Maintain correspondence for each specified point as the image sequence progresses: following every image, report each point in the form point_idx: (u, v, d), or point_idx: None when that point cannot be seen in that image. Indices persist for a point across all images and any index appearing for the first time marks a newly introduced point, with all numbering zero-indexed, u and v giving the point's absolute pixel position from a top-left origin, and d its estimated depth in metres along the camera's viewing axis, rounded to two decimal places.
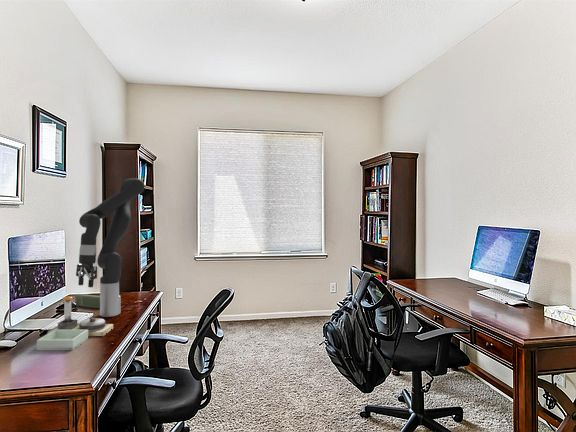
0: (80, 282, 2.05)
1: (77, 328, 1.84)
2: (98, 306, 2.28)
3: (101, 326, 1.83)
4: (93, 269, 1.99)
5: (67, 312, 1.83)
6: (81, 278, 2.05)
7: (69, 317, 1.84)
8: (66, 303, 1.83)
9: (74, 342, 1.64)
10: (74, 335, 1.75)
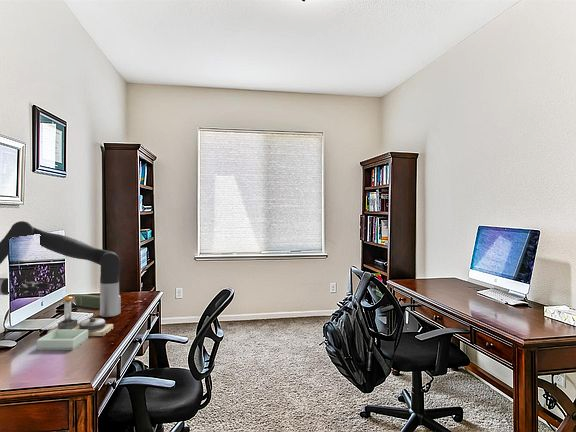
0: (44, 286, 1.87)
1: (77, 328, 1.84)
2: (98, 306, 2.28)
3: (101, 326, 1.83)
4: None
5: (67, 312, 1.83)
6: (39, 285, 1.87)
7: (69, 317, 1.84)
8: (66, 303, 1.83)
9: (74, 342, 1.64)
10: (74, 335, 1.75)
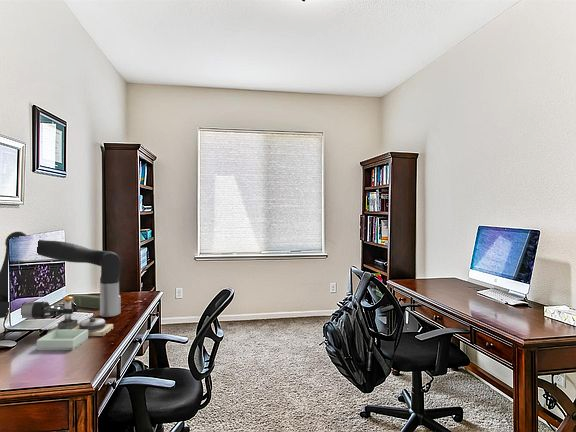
0: (72, 310, 1.86)
1: (77, 328, 1.84)
2: (97, 306, 2.27)
3: (101, 326, 1.83)
4: (48, 315, 1.78)
5: None
6: None
7: (69, 317, 1.84)
8: (66, 303, 1.83)
9: (74, 342, 1.64)
10: (74, 335, 1.75)
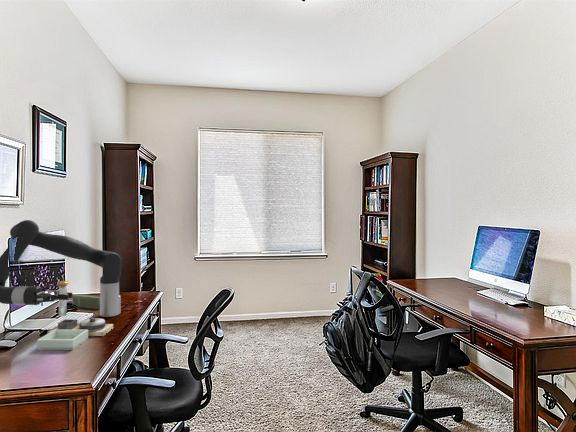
0: None
1: (77, 328, 1.84)
2: (96, 307, 2.26)
3: (101, 326, 1.83)
4: (41, 301, 1.63)
5: None
6: None
7: (64, 303, 1.68)
8: (61, 288, 1.67)
9: (74, 342, 1.64)
10: (74, 335, 1.75)
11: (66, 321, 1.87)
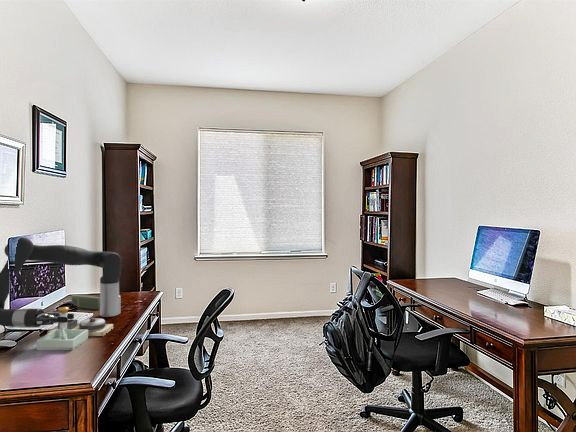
0: (69, 317, 1.71)
1: (77, 328, 1.84)
2: (95, 307, 2.26)
3: (101, 326, 1.83)
4: (40, 324, 1.62)
5: (62, 324, 1.68)
6: None
7: (65, 329, 1.68)
8: (62, 314, 1.68)
9: (74, 342, 1.64)
10: (74, 335, 1.75)
11: None
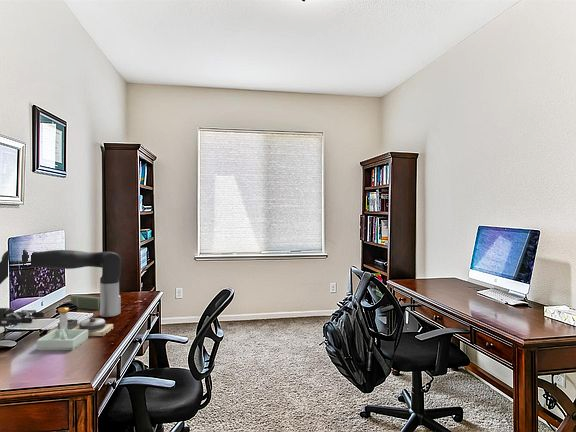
0: (39, 316, 1.72)
1: (77, 328, 1.84)
2: (95, 307, 2.26)
3: (101, 326, 1.83)
4: (4, 323, 1.61)
5: (62, 324, 1.67)
6: (34, 315, 1.72)
7: (65, 330, 1.68)
8: (62, 315, 1.67)
9: (74, 342, 1.64)
10: (74, 335, 1.75)
11: None
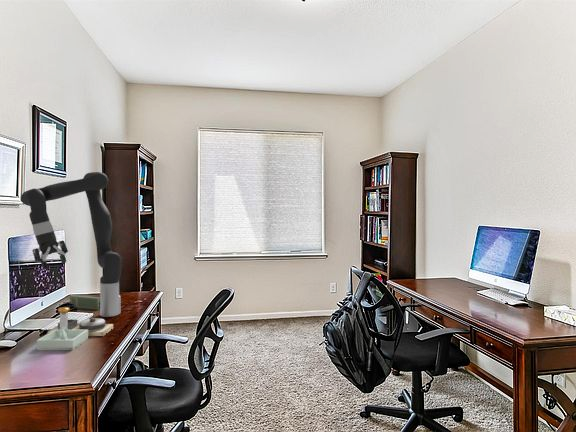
0: (61, 260, 1.90)
1: (77, 328, 1.84)
2: (94, 307, 2.25)
3: (101, 326, 1.83)
4: (33, 252, 1.79)
5: (63, 324, 1.67)
6: (61, 256, 1.89)
7: (65, 330, 1.68)
8: (62, 315, 1.67)
9: (74, 342, 1.64)
10: (74, 335, 1.75)
11: None
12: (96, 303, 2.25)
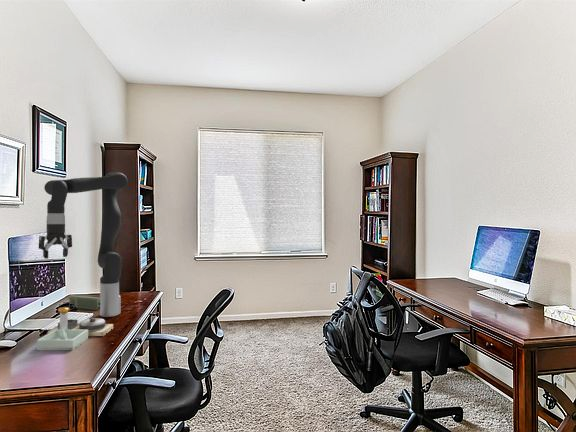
0: (63, 253, 1.94)
1: (77, 328, 1.84)
2: (94, 307, 2.25)
3: (101, 326, 1.83)
4: (39, 239, 1.85)
5: (63, 324, 1.67)
6: (64, 249, 1.93)
7: (65, 330, 1.68)
8: (62, 315, 1.67)
9: (74, 342, 1.64)
10: (74, 335, 1.75)
11: None
12: (96, 303, 2.24)
